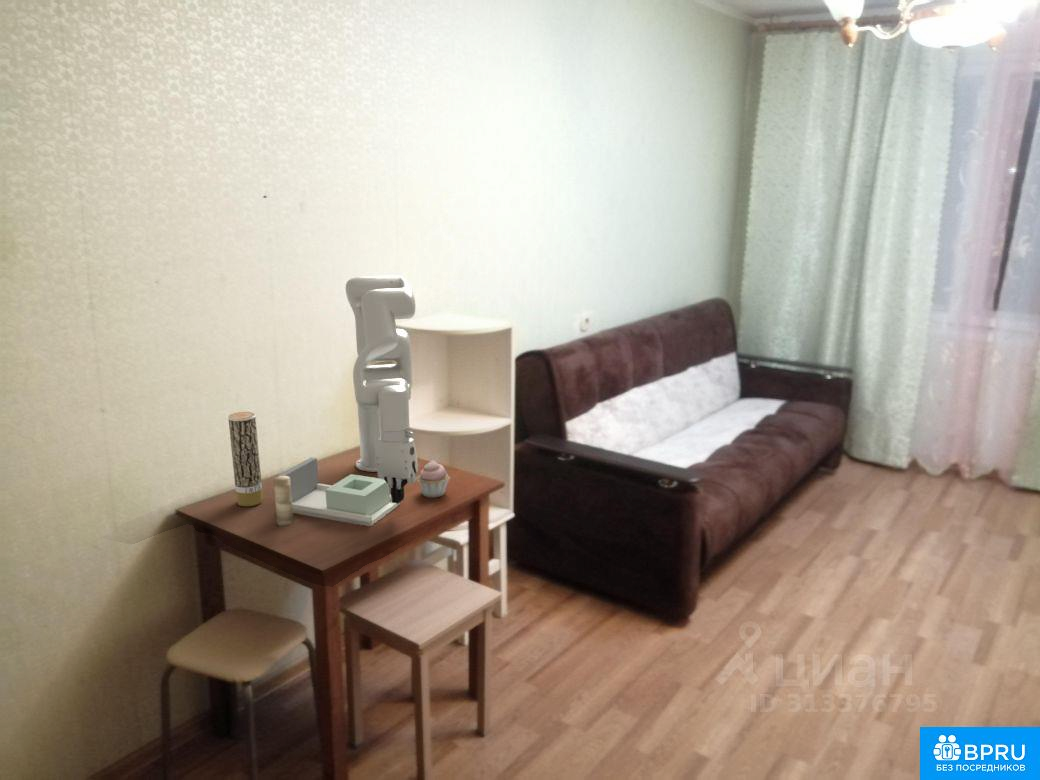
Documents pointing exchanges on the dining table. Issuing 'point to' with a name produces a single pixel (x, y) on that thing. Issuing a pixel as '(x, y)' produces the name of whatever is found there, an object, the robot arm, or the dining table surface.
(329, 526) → the dining table surface
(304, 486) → the rail base
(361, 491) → the slide block
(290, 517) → the dowel
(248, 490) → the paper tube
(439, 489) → the cupcake
